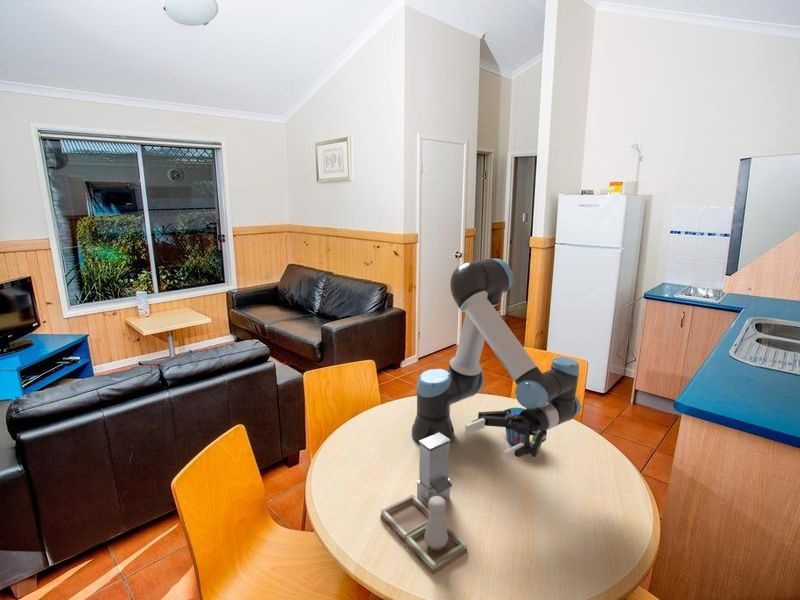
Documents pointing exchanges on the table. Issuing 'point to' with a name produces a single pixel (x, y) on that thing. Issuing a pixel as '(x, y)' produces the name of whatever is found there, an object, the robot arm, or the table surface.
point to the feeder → (434, 468)
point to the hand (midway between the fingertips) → (484, 442)
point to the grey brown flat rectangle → (421, 533)
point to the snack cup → (513, 435)
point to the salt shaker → (436, 524)
